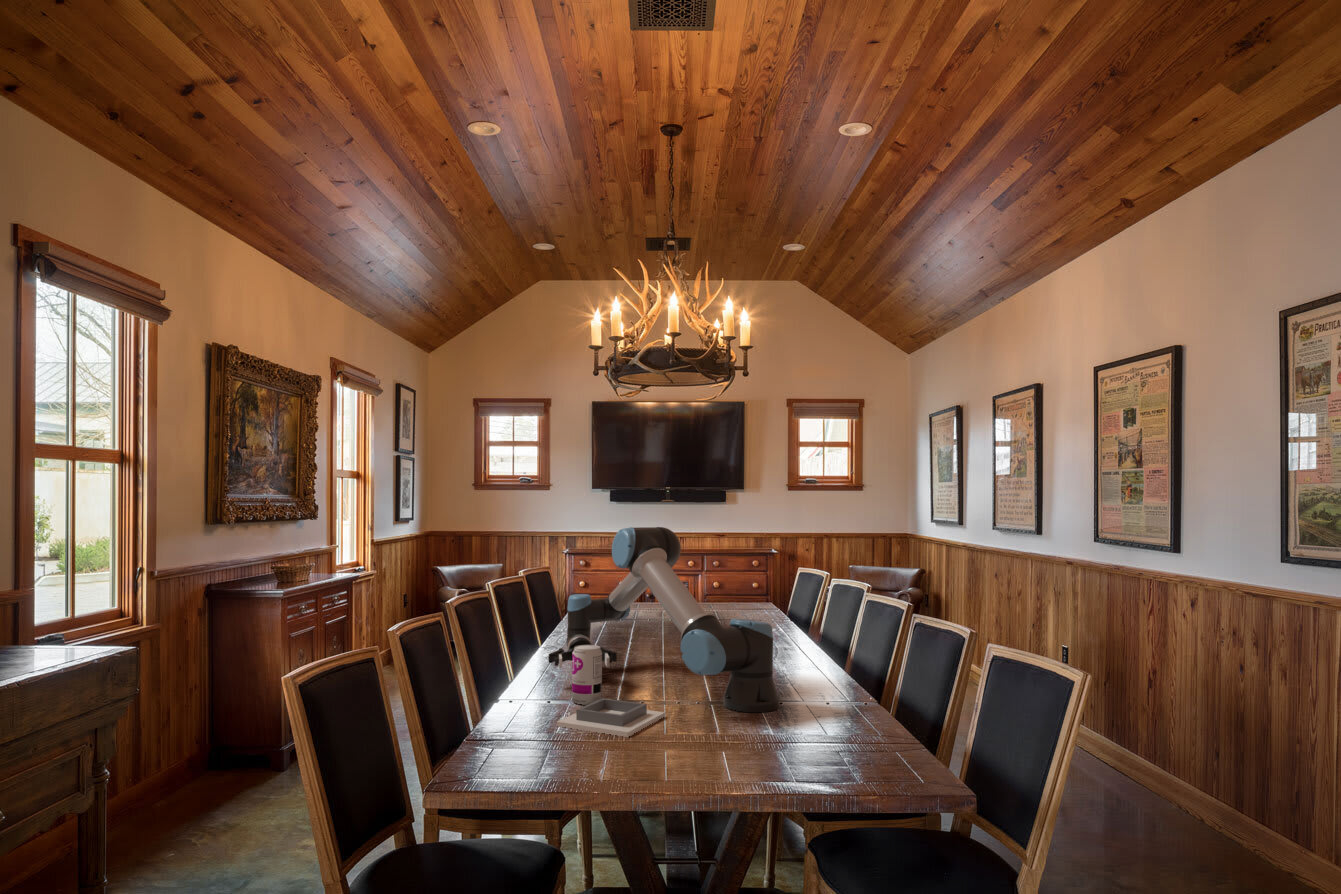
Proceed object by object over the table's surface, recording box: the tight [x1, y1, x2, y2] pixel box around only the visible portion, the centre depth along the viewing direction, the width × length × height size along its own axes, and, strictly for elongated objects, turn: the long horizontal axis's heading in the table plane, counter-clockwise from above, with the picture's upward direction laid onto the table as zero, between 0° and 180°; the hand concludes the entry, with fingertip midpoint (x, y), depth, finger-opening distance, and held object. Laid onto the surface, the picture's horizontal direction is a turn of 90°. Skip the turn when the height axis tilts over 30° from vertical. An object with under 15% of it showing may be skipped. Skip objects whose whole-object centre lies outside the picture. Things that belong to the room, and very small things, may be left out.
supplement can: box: [571, 644, 603, 706], centre depth 229 cm, size 8×8×15 cm
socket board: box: [556, 697, 666, 738], centre depth 209 cm, size 20×20×4 cm
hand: (584, 663), depth 238 cm, fingers open, 13 cm apart
